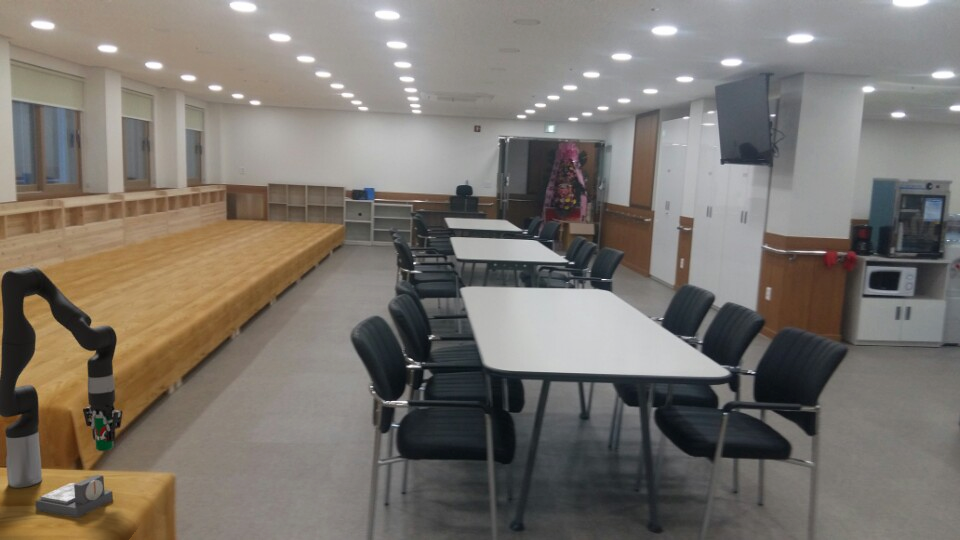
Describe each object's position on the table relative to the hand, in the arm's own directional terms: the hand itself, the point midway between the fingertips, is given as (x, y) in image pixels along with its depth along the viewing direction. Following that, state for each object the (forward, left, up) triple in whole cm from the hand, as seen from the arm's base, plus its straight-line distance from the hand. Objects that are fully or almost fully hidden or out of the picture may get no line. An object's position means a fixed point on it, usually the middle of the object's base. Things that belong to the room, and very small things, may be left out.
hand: (104, 440), depth 223 cm
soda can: (0, 0, -3) cm, 3 cm away
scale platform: (-7, -8, -16) cm, 19 cm away
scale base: (-5, -8, -19) cm, 21 cm away
